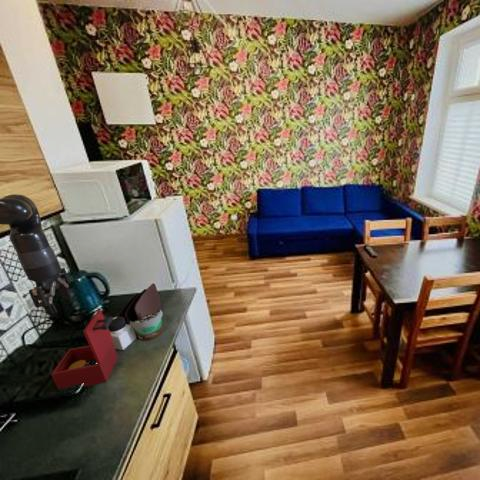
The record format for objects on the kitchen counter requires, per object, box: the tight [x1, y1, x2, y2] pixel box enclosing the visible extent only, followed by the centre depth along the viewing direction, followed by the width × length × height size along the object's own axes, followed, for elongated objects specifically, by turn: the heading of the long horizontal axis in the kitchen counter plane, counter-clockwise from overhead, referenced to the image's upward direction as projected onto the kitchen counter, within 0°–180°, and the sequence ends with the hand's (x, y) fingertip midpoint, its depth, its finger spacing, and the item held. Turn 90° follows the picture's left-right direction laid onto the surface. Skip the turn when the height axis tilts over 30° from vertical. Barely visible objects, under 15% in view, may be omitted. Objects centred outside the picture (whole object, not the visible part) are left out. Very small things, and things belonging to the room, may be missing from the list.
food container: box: [130, 307, 164, 341], centre depth 114 cm, size 12×6×10 cm, turn 137°
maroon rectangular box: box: [50, 342, 119, 390], centre depth 97 cm, size 14×12×8 cm
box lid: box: [82, 309, 114, 364], centre depth 94 cm, size 14×12×5 cm
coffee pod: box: [69, 360, 87, 369], centre depth 96 cm, size 5×5×4 cm
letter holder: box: [116, 282, 162, 331], centre depth 124 cm, size 10×20×14 cm, turn 8°
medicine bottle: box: [108, 316, 138, 351], centre depth 110 cm, size 7×7×12 cm
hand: (60, 305), depth 86 cm, fingers open, 8 cm apart
